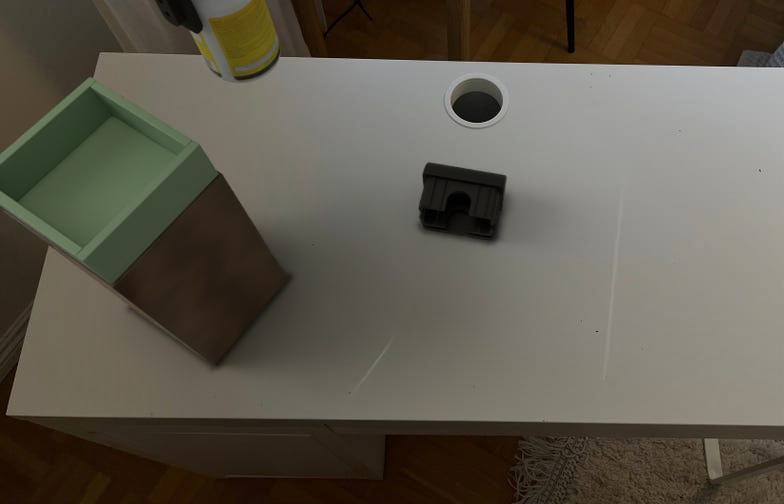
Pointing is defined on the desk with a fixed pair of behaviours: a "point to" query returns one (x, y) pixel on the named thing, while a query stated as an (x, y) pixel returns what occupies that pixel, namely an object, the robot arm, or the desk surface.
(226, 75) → the pill bottle
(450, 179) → the end cap
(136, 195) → the green storage bin
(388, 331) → the desk surface
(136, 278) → the stand
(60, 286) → the desk surface
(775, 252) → the desk surface
